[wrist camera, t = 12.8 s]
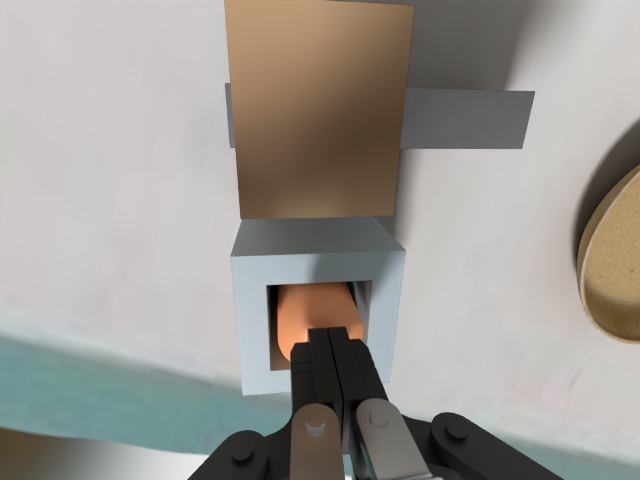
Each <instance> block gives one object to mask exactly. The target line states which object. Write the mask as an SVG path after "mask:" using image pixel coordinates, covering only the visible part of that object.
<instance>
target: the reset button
mask: <svg viewBox="0 0 640 480" xmlns="http://www.w3.org/2000/svg"><path fill="white" fill-rule="evenodd" d="M339 326H345V327H346V329H347V332H348V335H349V338H350V339H359V338H360V339H361V340H362V338H363V324H362V321H361V318H360V316H359V313H358V311H357V308H356V306H355V303H354V301H353V299H352V296H351V294H350V291H349V289H348V286H347V284H346V281H344V282H322V283H301V284H279V285H278V344H279V347H280V349H281V352H282V353H283V355H284V356H285V357H286V358H287V359H288V360H289V361H290V352H291V350H292V348H293V346H294V344H295V343H298V342H307V329H308V328H324V327H326V329H327V327H339Z"/></svg>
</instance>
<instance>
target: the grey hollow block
mask: <svg viewBox="0 0 640 480" xmlns="http://www.w3.org/2000/svg"><path fill="white" fill-rule="evenodd" d="M405 252H406V250H405V249H404V248H403V247H402V246H401V245H400V244H399V243H398V242H397V241H396V240H395V238H394V237H393V236H392V235H391V234H390V233H389V232H388V231H387V230H386V229H385V228H384V227H383V226H382V225H381V223H380V222H379V221H378V220H377V219H376V218H375V217H374V216H372V217H327V218H282V219H242V222H241V225H240V228H239V231H238V234H237V237H236V240H235V243H234V247H233V250H232V253H231V256H230V260H231V270H232V281H233V292H234V303H235V314H236V325H237V336H238V347H239V358H240V369H241V380H242V390H243V396H244V395H256V394H267V393H279V392H291V372H290V361H289V360H288V359H287V358H286V357H285V356H284V355H283V353H282V352H281V349H280V347H279V344H278V300H272V288H271V285H279V284H301V283H322V282H344V281H346V284H347V286H348V289H349V291H350V294H351V296H352V299H353V301H354V303H355V306H356V308H357V311H358V313H359V316H360V318H361V321H362V324H363V338H362V341H363V342H364V343H365V344H366V345H367V346H368V348H369V351H370V353H371V356H372V359H373V361H374V364H375V368H376V369H377V371H378V374H379V377H380V379H381V382H382V384H384V383H390V378H391V369H392V361H393V353H394V344H395V336H396V328H397V319H398V311H399V303H400V294H401V286H402V278H403V269H404V261H405Z"/></svg>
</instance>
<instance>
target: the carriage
mask: <svg viewBox="0 0 640 480" xmlns="http://www.w3.org/2000/svg"><path fill="white" fill-rule="evenodd" d="M224 5H225V18H226V32H227V45H228V58H229V71H230V85H231V98H232V111H233V124H234V137H235V151H236V164H237V177H238V190H239V204H240V217H241V219H282V218H327V217H372V216H393V215H394V206H395V196H396V186H397V176H398V166H399V156H400V146H401V136H402V126H403V116H404V106H405V96H406V86H407V76H408V67H409V57H410V47H411V37H412V27H413V17H414V7H415V6H414V5H397V4H380V3H363V2H346V1H328V0H224Z"/></svg>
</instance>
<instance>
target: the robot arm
mask: <svg viewBox="0 0 640 480" xmlns="http://www.w3.org/2000/svg"><path fill="white" fill-rule="evenodd" d="M290 372H291V399H292V416H291V418H290V420H289V422H288V423H287V424H286V425H285V426H284V427H283V428H282V429H280V430H279V431H277V432H275V433H273V434H270V435H268V436H266V437H263V436H262V435H261V434H260V433H258V432H255V431H251V430H244V431H239V432H236V433H234V434H232V435H231V436H229V437H228V438H227V439H226V440H224V441H223V442H222V444H221V445H220V446H219V447H218V448H217V449H216V450H215V451H214V452H213V453H212V454H211V455H210V456H209V457H208V458H207V459H206V460H205V462H204V463H203V464H202V465H201V466H200V467H199V468H198V469H197V470H196V471H195V472H194V473H193V474H192V475H191V476H190V477H189V478H188V480H345V474H344V465H343V456H342V455H344V454H350V457H351V462H352V480H564V479H562V478H561V477H559V476H557V475H556V474H554V473H553V472H551V471H549V470H548V469H546V468H545V467H543V466H541V465H540V464H538V463H537V462H535V461H533V460H532V459H530V458H529V457H527V456H525V455H524V454H522V453H521V452H519V451H517V450H516V449H514V448H513V447H511V446H510V445H508V444H506V443H505V442H503V441H502V440H500V439H498V438H497V437H495V436H494V435H492V434H490V433H489V432H487V431H486V430H484V429H482V428H481V427H479V426H478V425H476V424H474V423H473V422H471V421H470V420H468V419H467V418H465V417H463V416H461V415H458V414H455V413H450V412H445V413H440V414H438V415H436V416H435V417H434V418H433V420H432V423H431V422H426V421H421V420H416V419H412V418H409V417H406V416H404V415H402V414H401V413H400V411H399V410H398V409H397V407H396V406H394V405H393V404H392V403H390V402H389V400H388V398H387V395H386V392H385V390H384V387H383V384H382V382H381V379H380V377H379V374H378V371H377V369H376V368H375V364H374V361H373V359H372V356H371V353H370V351H369V348H368V346H367V345H366V344H365V343H364V342H363V341H362V340H361V339H360V338H359V339H350V338H349V335H348V332H347V329H346V327H345V326H339V327H327V329H326V327H324V328H308V329H307V342H298V343H295V344H294V346H293V348H292V350H291V352H290Z"/></svg>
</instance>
